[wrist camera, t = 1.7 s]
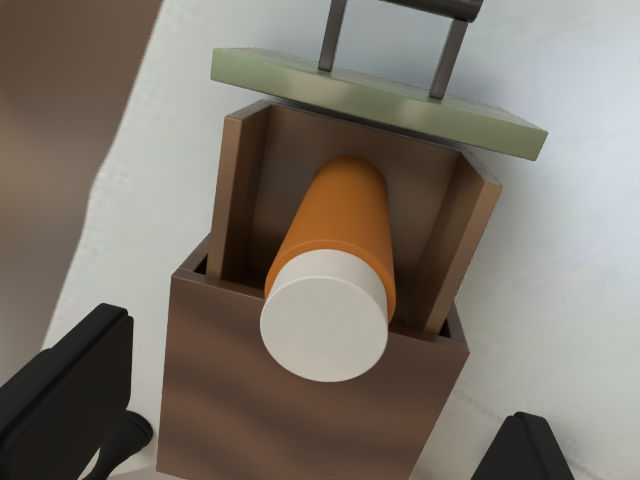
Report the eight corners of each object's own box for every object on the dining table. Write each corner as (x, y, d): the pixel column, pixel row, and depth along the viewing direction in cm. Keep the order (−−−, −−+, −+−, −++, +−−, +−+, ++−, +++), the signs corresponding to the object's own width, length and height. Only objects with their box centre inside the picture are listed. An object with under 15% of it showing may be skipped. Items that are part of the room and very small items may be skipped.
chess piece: (122, 448, 39) (46, 569, 30) (96, 414, 38) (8, 530, 29) (162, 440, 38) (95, 563, 29) (136, 405, 36) (58, 523, 27)
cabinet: (228, 211, 28) (170, 275, 20) (443, 266, 27) (470, 353, 20) (205, 374, 34) (155, 471, 26) (380, 420, 34) (382, 531, 26)
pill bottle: (299, 169, 24) (225, 288, 12) (374, 144, 23) (372, 248, 11) (325, 237, 25) (282, 400, 14) (396, 216, 24) (416, 375, 13)
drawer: (271, -52, 21) (227, -94, 14) (539, 14, 20) (610, 0, 14) (226, 262, 28) (185, 322, 22) (419, 312, 28) (432, 386, 22)
